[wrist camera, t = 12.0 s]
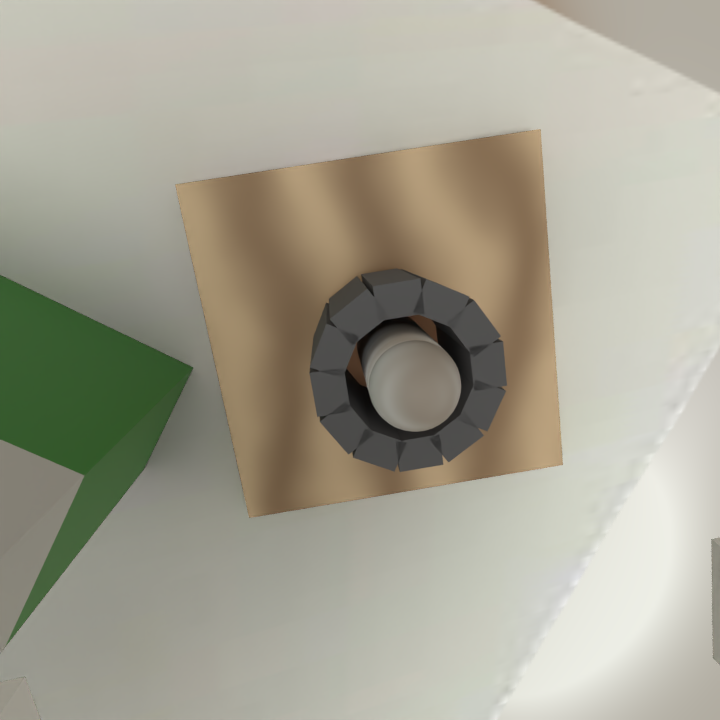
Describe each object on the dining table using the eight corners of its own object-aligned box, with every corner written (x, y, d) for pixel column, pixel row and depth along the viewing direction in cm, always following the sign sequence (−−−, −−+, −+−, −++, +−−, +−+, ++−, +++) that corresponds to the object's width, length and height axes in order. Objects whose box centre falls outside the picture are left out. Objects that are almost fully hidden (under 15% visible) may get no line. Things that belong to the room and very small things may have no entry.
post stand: (252, 505, 35) (206, 676, 21) (182, 187, 30) (66, 146, 16) (552, 455, 35) (693, 590, 22) (530, 134, 30) (691, 53, 17)
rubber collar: (328, 426, 29) (329, 484, 23) (303, 283, 28) (295, 298, 21) (470, 403, 30) (513, 453, 23) (454, 259, 28) (496, 266, 21)
